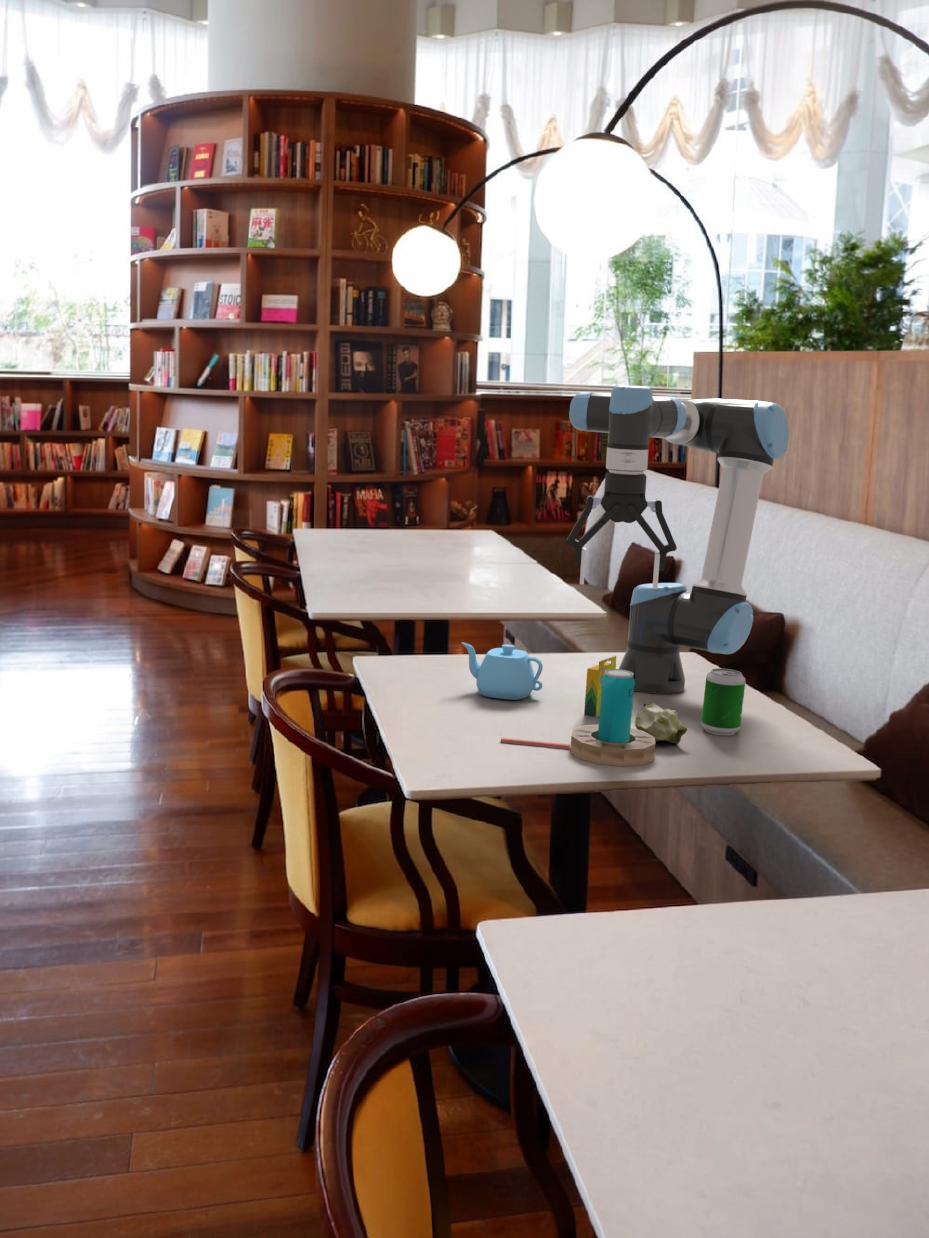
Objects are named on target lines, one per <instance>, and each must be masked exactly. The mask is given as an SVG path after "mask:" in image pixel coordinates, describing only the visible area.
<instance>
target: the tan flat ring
mask: <svg viewBox="0 0 929 1238" xmlns="http://www.w3.org/2000/svg"><path fill="white" fill-rule="evenodd" d="M598 726H599V723H598V724H586V725H581V726H579V727H576V728H572V731H571V737H570V749H569V751H570V753H571V754H573V755H575V756H576V757H578V758H579V759H581V760H584V761H589V762H591V763H594V764H599V765H604V766H605V765H606V766H617V767H630V766H631V767H632V766H643V765H646V764H648V763H651V762H652V761H655V754H656V753H655V752H656V751H655V750H656V742H655V737H653V736H651V735H650V734H648V733H646V732H644V731H641V730H638V729H637V728H634V727H631V728H630V738H629V743H621V744H618V743H608V742H604V741H600V740H597V737H598Z"/></svg>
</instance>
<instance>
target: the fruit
mask: <svg viewBox="0 0 929 1238" xmlns="http://www.w3.org/2000/svg"><path fill="white" fill-rule="evenodd" d="M678 716H679V713H678V712H677V711H676V710H675V709H670V708H664V709H663V708H662V707H660V706H659V705H658V704H655V703H654V702H653V703H650V705H646V703H644V704H643V709H642V710H640V711H639V712H638V713H637V715H636V717H635V721H634V723H635V724H634V725H635V729H638V730H641V731H644V732H646V733H648V734H650V735H651V736H653V737H655V743H657V742H660V741H661V742H662V741H667V742H669V743H671V744H676V745H678V744H680V742H681V740H682V737H683V736H684V735H685V734H686V733H687V731H688V727H686V726H685V725H684V724H683V723H681V721H680V720H679V717H678Z"/></svg>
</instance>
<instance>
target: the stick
mask: <svg viewBox="0 0 929 1238" xmlns="http://www.w3.org/2000/svg"><path fill="white" fill-rule="evenodd" d="M500 743H503V744H504V743H506V744H515V745H524V746H525V745H526V746H534V747H535V746H536V747H546V748H555V749H557V748H558V749H565V750H570V748H571V743H570V744H569V743H568V744H567V743H559V742H558V743H557V742H547V741H538V740H526V739H519V738H518V739H516V738H509V737H507V738H506V737H505V738H504V737H501V738H500Z"/></svg>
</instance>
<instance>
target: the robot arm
mask: <svg viewBox="0 0 929 1238" xmlns="http://www.w3.org/2000/svg"><path fill="white" fill-rule="evenodd" d="M610 392H611V393H610ZM610 392H609V393H608V392H607V393H606V392H594V391H582V392H581V391H580V392H578V393H576V394H575V395H574V397H573V398H572V399H571V401H570V404H569V412H568V414H569V421H570V423H571V425H572V426H573V427H574V429H576V430H578V431H584V432H593V433H605V434H608V437H607V446H606V461H605V468H606V470H607V472H606V473H605V475H604V491H603V492H604V493H603V495H602V497H597V496H596V497H594V496H593V495H592V494H591V495H588V496H587V498H586V502H585V507H584V509H583V510H582V513H581V514H580V515H579V517H578V519H577V521H576V522H575V524H574V526H573V527H572V530H571V531H570V532H569V535H568V536H567V538H566V545H567V546H571V547H573V548H574V550H575V554H574V565H575V567H580V575H579V585H580V586H581V585H582V586H584V585H585V573H586V572H585V570H586V557H587V555H586V553H587V552H586V551H587V548H586V547H584V546H585V545H586V544H588V542H589V541H590V540H591V539H592V538H593V537H594V536H595V535H596V534H597V533H598V532H599V531H600V530H601V529H602V528H603V527H604V526H605V525H606V524H607V523H608V522H609V521H610V520H611V521H612V522H613V523H627V524H632V523H635V522H637V524H638V525H639V526H640V527H641V528H642V530H643V531H644V532H645V534H646V535H647V536H648V538H649V540H650V541H651V543H652V544H653V545H654V546H655V547H656V548H657V550H658V551H655V552H654V560H653V578H652V583H643V584H639V585H637V586H636V587H634V589H633V591H632V594H631V595H632V596H631V599H630V604H629V606H630V611H629V622H628V634H627V645H626V647H627V648H626V650H625V653H624V655H623V658H622V661H621V663H620V664H619V667H618V669H621V670H627V671H630V672H632V673H633V674H634V676H633V679H634V682H635V684H634V692H641V693H646V694H647V693H648V694H662V695H663V694H665V695H666V694H675V693H676V694H677V693H680V692H682V691H684V689H685V683H686V677H685V674H684V673H685V672H684V669H683V664H682V659H681V655H680V652H681V647H685V648H691V649H696V650H701V651H704V652H705V651H706V652H709V653H711V654H723V655H731V654H734V653H736V652H737V651H739V650H740V649H741V647H742V646H743V645H744V644H745V643H746V641H747V639H748V637H749V635H750V634H751V629H752V627H753V623H754V615H753V614H754V610H753V607H752V605H751V603H749V602H747V596H748V594H747V592H746V591H745V589H744V588H743V581H744V580H743V578H744V574H745V570H746V565H747V559H748V554H749V551H750V550H749V548H750V544H751V540H752V533H753V529H754V524H755V519H756V515H757V514H756V513H757V510H758V509H757V508H758V503H759V499H760V494H761V488H762V483H763V479H764V475H765V474H767V473H768V472H769V471H770V470H772V469H773V466H774V465H773V464H774V461H775V460H778V459H782V458H783V457H784V455H785V452H787V449H788V445H789V441H790V439H789V437H790V430H789V428H790V427H789V422H788V418H787V415H786V413H785V411H784V409H783V408H782V406H780V404H778V403H775V402H771V401H769V402H768V401H763V400H761V399H758V400H749V399H747V400H746V399H731V398H717V397H716V398H701V399H699V398H698V399H684V398H683V399H681V398H679V399H678V398H677V397H673V396H670V395H669V396H668V395H661V396H657V395H655V396H654V395H653V393H654V392H653V389H652V388H651V387H649V386H641V385H616V386H614V387H613V388H612V389H611V391H610ZM650 438H659V439H665V440H666V441H667V442H668V443H671V444H673V445H678V446H679V445H680V446H684V447H688V448H692V449H695V450H699V451H704V452H709V453H713V454H717V459H716V460H717V462H718V463H719V464H720V466H721V468H722V471H721V476H720V481H719V486H718V491H717V497H716V502H715V507H714V513H713V517H712V522H711V527H710V531H709V536H708V541H707V548H706V553H705V557H704V562H703V568H702V575H701V577H700V579H698V580H697V581H696V582H695V583H693V584H692V586H691V587H692V588H691V592H687V591H688V589H687V585H686V584H684V583H678V582H659V573H660V572H661V571H662V572H664V571H665V569H666V564H667V563H666V562H667V561H666V560H667V554H668V553H670V552H675V551H677V549H678V548H677V544H676V542H675V540H674V537H673V535H672V532H671V530H670V528H669V525H668V523H667V521H666V518H665V516H664V513H663V503H662V500H661V499H660V498H656V499H653V500H647V499H646V489H647V477H648V476H647V474H646V473H644V472H646V471H647V470H648V463H649V448H650ZM599 505H600V506H601V507H602V509H603V510H604V513H603V514H602V515H601V516H600V517H599V518H598V520H596V522H595V523H594V524H593V525H592V526H591V527H590V528H588V530H587V531H586V532H585V533H584V534H583V535H581V537H579V539H577V537H578V535H579V534H580V531H581V530H582V529H583V526H584V525H585V523H586V521H587V519H588V517H589V516H590V515H591V513H592V510H594V509H596V508H597V506H599ZM647 508H649V509H650V510H651V512H652V513H655V515H656V518H657V521H658V523H659V526H660V527H661V530H662V533H663V535H664V537H665V540H666V542H667V544H664V543H663V542H662V541H661V539H660V538H659V537H658V535H657V533H655V531H654V530H653V529H652V527H651V526H650V524H649V523H648V522H647V521H646V519H645V517H644V516H643V515H642V514H643V513H644V511H646V509H647Z"/></svg>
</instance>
